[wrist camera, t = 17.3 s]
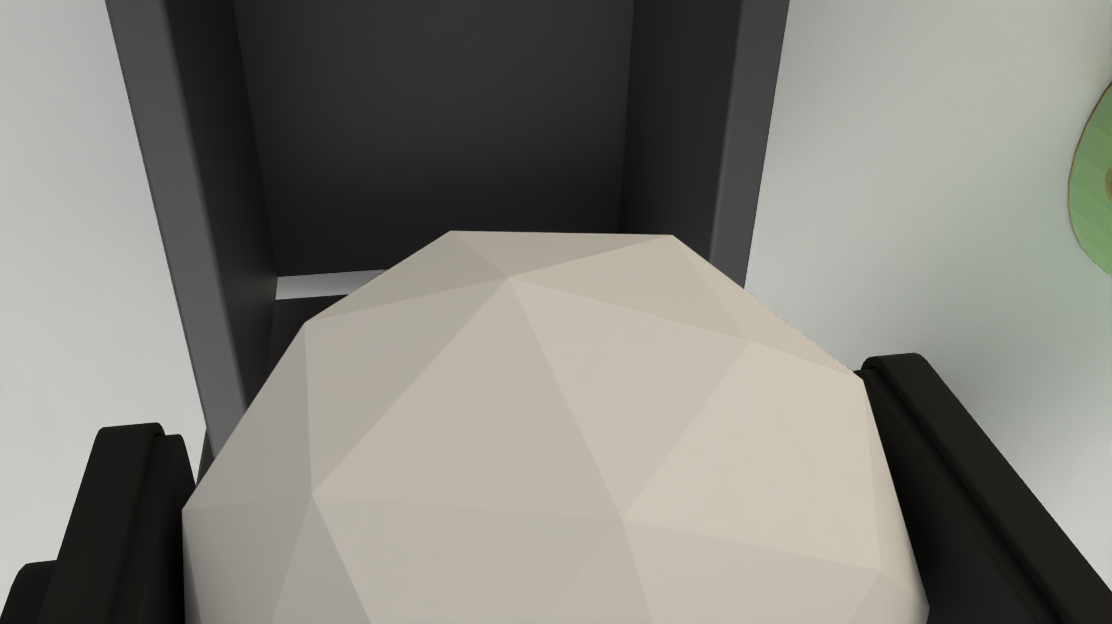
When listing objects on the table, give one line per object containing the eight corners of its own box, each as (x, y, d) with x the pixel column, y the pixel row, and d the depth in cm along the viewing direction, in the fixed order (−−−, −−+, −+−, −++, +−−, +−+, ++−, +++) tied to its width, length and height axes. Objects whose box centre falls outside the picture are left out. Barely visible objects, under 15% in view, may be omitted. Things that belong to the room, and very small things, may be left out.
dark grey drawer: (642, 434, 30) (719, 645, 24) (262, 473, 28) (237, 711, 22) (725, -429, 18) (927, -465, 12) (75, -455, 16) (-99, -517, 10)
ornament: (312, 620, 15) (-192, 1047, 7) (462, 154, 14) (66, 44, 6) (756, 820, 14) (746, 1608, 6) (956, 325, 13) (1270, 467, 5)
